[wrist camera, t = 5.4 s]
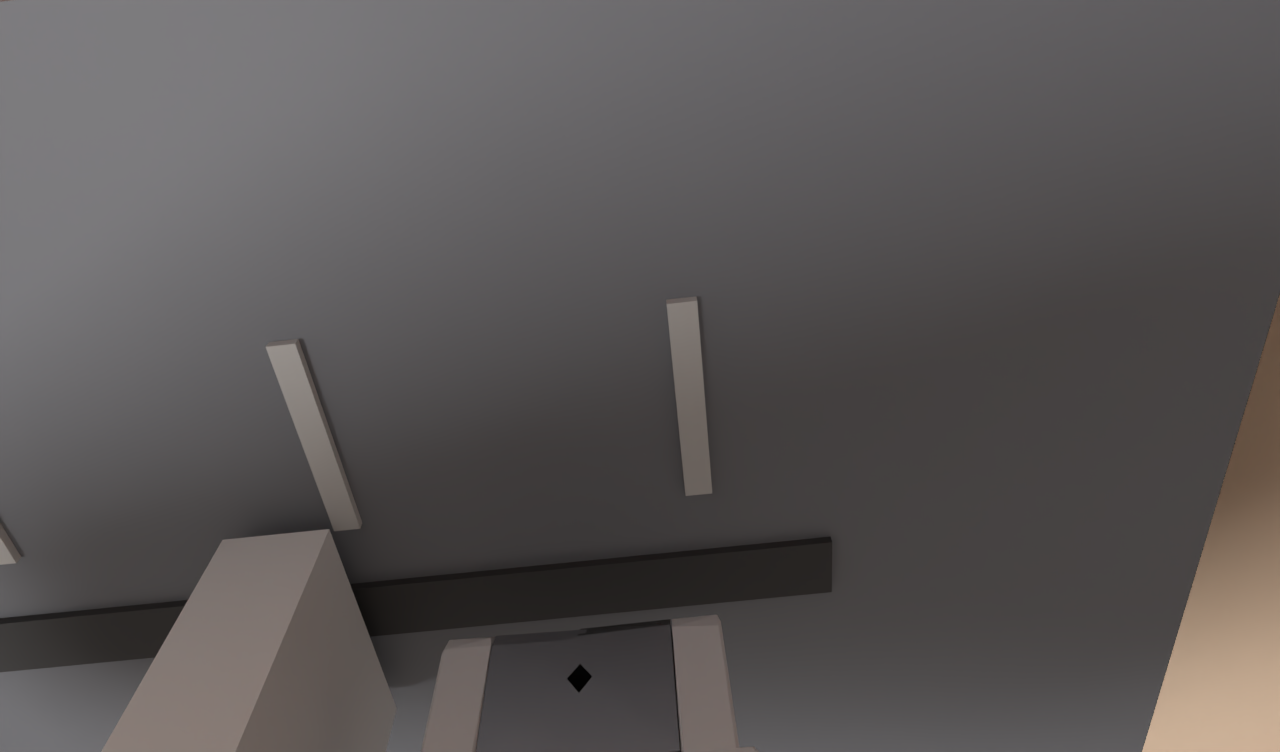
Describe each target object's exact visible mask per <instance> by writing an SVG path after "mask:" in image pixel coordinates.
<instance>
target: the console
mask: <svg viewBox="0 0 1280 752" xmlns="http://www.w3.org/2000/svg"><path fill="white" fill-rule="evenodd" d="M1279 294H1280V0H0V752H101V751H102V749H103V748H104V746H105V744H106V742H107V741H108V739H109V737H110V735H111V734H112V732H113V730H114V728H115V727H116V725H117V723H118V721H119V720H120V718H121V716H122V714H123V713H124V711H125V709H126V708H127V706H128V704H129V702H130V701H131V699H132V697H133V695H134V694H135V692H136V690H137V688H138V687H139V685H140V683H141V681H142V680H143V678H144V676H145V674H146V673H147V671H148V669H149V667H150V666H151V664H152V662H153V660H154V659H155V657H156V655H157V653H158V652H159V650H160V648H161V646H162V645H163V643H164V641H165V639H166V638H167V636H168V634H169V632H170V631H171V629H172V627H173V625H174V624H175V622H176V620H177V618H178V617H179V615H180V613H181V611H182V610H183V608H184V606H185V604H186V603H187V601H188V599H189V597H190V596H191V594H192V592H193V590H194V589H195V587H196V585H197V583H198V582H199V580H200V578H201V576H202V575H203V573H204V571H205V569H206V568H207V566H208V564H209V562H210V561H211V559H212V557H213V556H214V554H215V552H216V550H217V549H218V547H219V545H220V543H221V542H222V540H225V539H235V538H245V537H255V536H265V535H275V534H285V533H295V532H305V531H315V530H324V529H330V532H331V535H332V537H333V540H334V543H335V545H336V548H337V551H338V553H339V556H340V559H341V561H342V564H343V567H344V569H345V572H346V575H347V577H348V580H349V583H350V585H351V588H352V591H353V593H354V596H355V599H356V601H357V604H358V607H359V609H360V612H361V615H362V617H363V620H364V623H365V625H366V628H367V631H368V633H369V636H370V639H371V641H372V644H373V647H374V649H375V652H376V655H377V657H378V660H379V663H380V665H381V668H382V671H383V673H384V676H385V679H386V681H387V684H388V687H389V689H390V692H391V695H392V697H393V700H394V703H395V705H396V708H397V709H396V713H395V717H394V721H393V725H392V729H391V733H390V737H389V740H388V744H387V748H386V752H421V748H422V744H423V739H424V735H425V730H426V725H427V721H428V716H429V711H430V707H431V702H432V697H433V693H434V688H435V683H436V679H437V674H438V669H439V665H440V660H441V655H442V652H443V650H444V649H445V647H446V645H447V643H448V642H449V640H456V639H470V638H483V637H496V636H500V635H514V634H528V633H542V632H556V631H570V630H580V629H584V628H593V627H602V626H611V625H621V624H630V623H639V622H648V621H658V620H667V619H670V620H671V627H672V619H678V618H688V617H697V616H707V615H718V617H719V619H720V621H721V626H722V633H723V640H724V647H725V654H726V660H727V667H728V674H729V681H730V688H731V694H732V701H733V708H734V715H735V721H736V728H737V735H738V742H739V747H755V748H756V749H757V750H758V751H759V752H1142V749H1143V746H1144V743H1145V739H1146V736H1147V733H1148V729H1149V726H1150V723H1151V719H1152V716H1153V713H1154V709H1155V706H1156V703H1157V699H1158V696H1159V693H1160V690H1161V686H1162V683H1163V680H1164V676H1165V673H1166V670H1167V666H1168V663H1169V660H1170V656H1171V653H1172V650H1173V646H1174V643H1175V640H1176V636H1177V633H1178V630H1179V626H1180V623H1181V620H1182V617H1183V613H1184V610H1185V607H1186V603H1187V600H1188V597H1189V593H1190V590H1191V587H1192V583H1193V580H1194V577H1195V573H1196V570H1197V567H1198V563H1199V560H1200V557H1201V553H1202V550H1203V547H1204V543H1205V540H1206V537H1207V534H1208V530H1209V527H1210V524H1211V520H1212V517H1213V514H1214V510H1215V507H1216V504H1217V500H1218V497H1219V494H1220V490H1221V487H1222V484H1223V480H1224V477H1225V474H1226V470H1227V467H1228V464H1229V460H1230V457H1231V454H1232V451H1233V447H1234V444H1235V441H1236V437H1237V434H1238V431H1239V427H1240V424H1241V421H1242V417H1243V414H1244V411H1245V407H1246V404H1247V401H1248V397H1249V394H1250V391H1251V387H1252V384H1253V381H1254V377H1255V374H1256V371H1257V368H1258V364H1259V361H1260V358H1261V354H1262V351H1263V348H1264V344H1265V341H1266V338H1267V334H1268V331H1269V328H1270V324H1271V321H1272V318H1273V314H1274V311H1275V308H1276V304H1277V301H1278V298H1279ZM672 635H673V633H672Z"/></svg>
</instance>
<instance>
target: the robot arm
mask: <svg viewBox="0 0 1280 752" xmlns="http://www.w3.org/2000/svg"><path fill="white" fill-rule="evenodd" d="M672 633H673V635H672ZM421 752H759V751H758V750H757V749H756V748H755V747H739V742H738V735H737V728H736V721H735V715H734V708H733V701H732V694H731V688H730V681H729V674H728V667H727V660H726V654H725V647H724V640H723V633H722V626H721V621H720V619H719V617H718V615H707V616H697V617H688V618H678V619H672V627H671V620H670V619H667V620H658V621H648V622H639V623H630V624H621V625H611V626H602V627H593V628H584V629H580V630H570V631H556V632H542V633H528V634H514V635H500V636H496V637H483V638H470V639H456V640H449V642H448V643H447V645H446V647H445V649H444V650H443V652H442V655H441V660H440V665H439V669H438V674H437V679H436V683H435V688H434V693H433V697H432V702H431V707H430V711H429V716H428V721H427V725H426V730H425V735H424V739H423V744H422V748H421Z"/></svg>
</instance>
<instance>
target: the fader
mask: <svg viewBox="0 0 1280 752" xmlns="http://www.w3.org/2000/svg"><path fill="white" fill-rule="evenodd" d="M396 709H397V708H396V705H395V703H394V700H393V697H392V695H391V692H390V689H389V687H388V684H387V681H386V679H385V676H384V673H383V671H382V668H381V665H380V663H379V660H378V657H377V655H376V652H375V649H374V647H373V644H372V641H371V639H370V636H369V633H368V631H367V628H366V625H365V623H364V620H363V617H362V615H361V612H360V609H359V607H358V604H357V601H356V599H355V596H354V593H353V591H352V588H351V585H350V583H349V580H348V577H347V575H346V572H345V569H344V567H343V564H342V561H341V559H340V556H339V553H338V551H337V548H336V545H335V543H334V540H333V537H332V535H331V532H330V529H324V530H315V531H305V532H295V533H285V534H275V535H265V536H255V537H245V538H235V539H225V540H222V542H221V543H220V545H219V547H218V549H217V550H216V552H215V554H214V556H213V557H212V559H211V561H210V562H209V564H208V566H207V568H206V569H205V571H204V573H203V575H202V576H201V578H200V580H199V582H198V583H197V585H196V587H195V589H194V590H193V592H192V594H191V596H190V597H189V599H188V601H187V603H186V604H185V606H184V608H183V610H182V611H181V613H180V615H179V617H178V618H177V620H176V622H175V624H174V625H173V627H172V629H171V631H170V632H169V634H168V636H167V638H166V639H165V641H164V643H163V645H162V646H161V648H160V650H159V652H158V653H157V655H156V657H155V659H154V660H153V662H152V664H151V666H150V667H149V669H148V671H147V673H146V674H145V676H144V678H143V680H142V681H141V683H140V685H139V687H138V688H137V690H136V692H135V694H134V695H133V697H132V699H131V701H130V702H129V704H128V706H127V708H126V709H125V711H124V713H123V714H122V716H121V718H120V720H119V721H118V723H117V725H116V727H115V728H114V730H113V732H112V734H111V735H110V737H109V739H108V741H107V742H106V744H105V746H104V748H103V749H102V751H101V752H386V748H387V744H388V740H389V737H390V733H391V729H392V725H393V721H394V717H395V713H396Z"/></svg>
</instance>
